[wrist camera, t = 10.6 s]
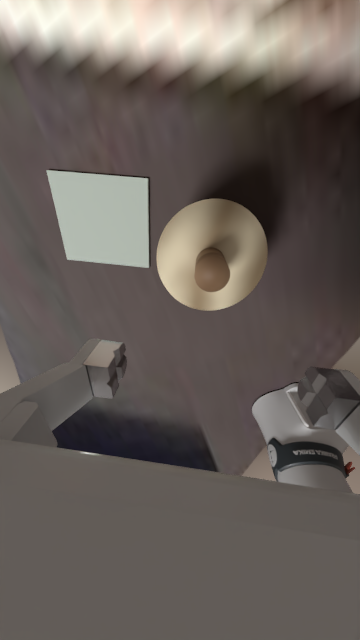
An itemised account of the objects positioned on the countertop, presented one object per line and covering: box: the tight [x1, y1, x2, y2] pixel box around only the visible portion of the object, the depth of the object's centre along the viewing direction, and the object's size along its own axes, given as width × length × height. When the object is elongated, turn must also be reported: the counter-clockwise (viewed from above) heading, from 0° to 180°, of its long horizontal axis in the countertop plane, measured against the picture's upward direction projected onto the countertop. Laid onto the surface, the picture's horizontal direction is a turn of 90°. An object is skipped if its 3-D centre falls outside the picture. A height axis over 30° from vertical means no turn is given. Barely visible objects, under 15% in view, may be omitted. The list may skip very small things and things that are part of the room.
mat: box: [47, 170, 150, 268], centre depth 29 cm, size 14×12×1 cm
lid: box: [157, 199, 268, 311], centre depth 20 cm, size 12×12×6 cm
